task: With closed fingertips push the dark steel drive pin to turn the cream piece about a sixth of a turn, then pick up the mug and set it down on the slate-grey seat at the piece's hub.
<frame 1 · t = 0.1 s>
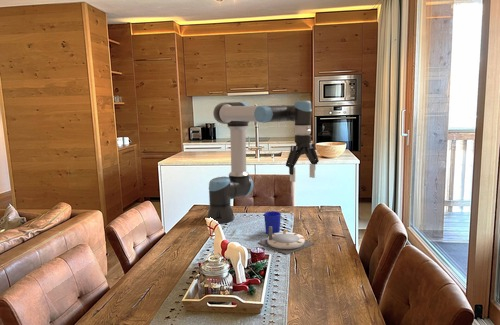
hand: (302, 179, 178), 28 cm above the table, fingers open, 13 cm apart
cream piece: (285, 233, 172), point 5 cm above the table, hinge at 0.0°
bearing plate: (285, 243, 173), on the table
mug: (272, 232, 189), on the table
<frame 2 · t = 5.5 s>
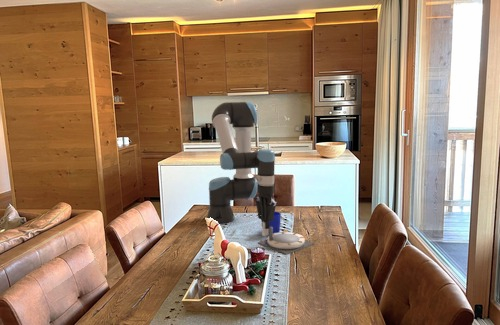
hand: (265, 235, 172), 4 cm above the table, fingers closed
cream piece: (285, 233, 172), point 5 cm above the table, hinge at 5.2°, touching gripper
everything else where it was.
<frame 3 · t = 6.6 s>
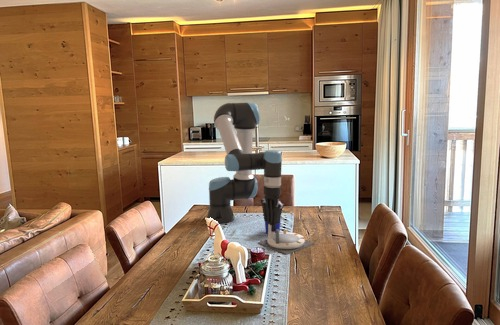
hand: (271, 238, 168), 4 cm above the table, fingers closed
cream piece: (285, 233, 172), point 5 cm above the table, hinge at 43.5°, touching gripper
everything else where it was.
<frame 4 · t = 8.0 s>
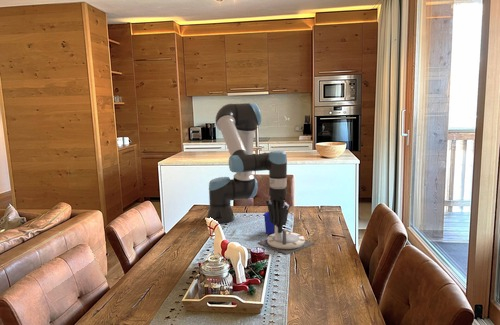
hand: (278, 239, 166), 4 cm above the table, fingers closed
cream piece: (285, 233, 172), point 5 cm above the table, hinge at 69.0°, touching gripper
everything else where it was.
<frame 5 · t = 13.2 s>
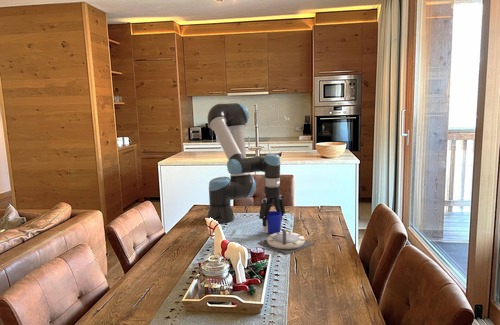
hand: (272, 230, 189), 1 cm above the table, fingers closed on mug, 8 cm apart
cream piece: (285, 233, 172), point 5 cm above the table, hinge at 69.2°
mug: (273, 232, 189), on the table, touching gripper
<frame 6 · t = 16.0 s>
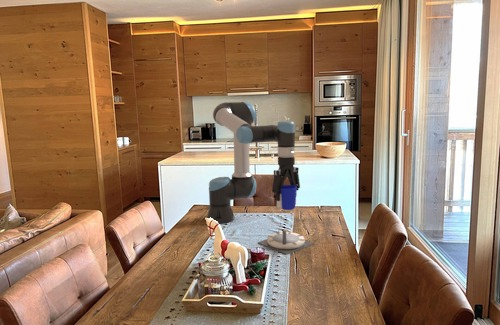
hand: (286, 205, 171), 18 cm above the table, fingers closed on mug, 8 cm apart
mug: (287, 207, 172), point 16 cm above the table, touching gripper
everything else where it was.
when the fingers open (5 cm above the table, at t = 18.8 s): mug drops 1 cm, resting on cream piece.
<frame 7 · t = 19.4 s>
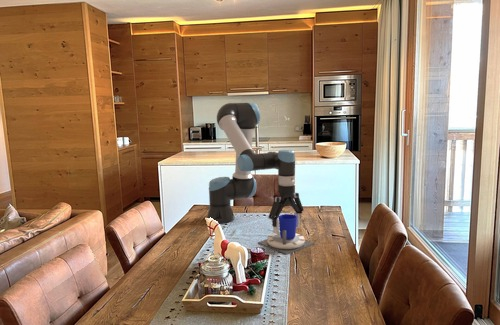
hand: (286, 229, 173), 6 cm above the table, fingers open, 13 cm apart
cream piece: (285, 233, 172), point 5 cm above the table, hinge at 69.2°, touching mug
mug: (287, 236, 174), point 3 cm above the table, touching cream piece
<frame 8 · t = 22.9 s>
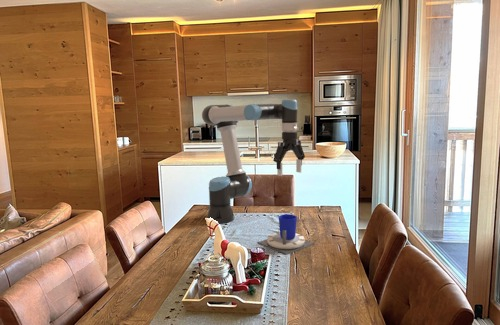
hand: (289, 174, 188), 29 cm above the table, fingers open, 13 cm apart
nothing on the table moved.
at the end: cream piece at +69° (first picture: +0°); mug 2.3 cm from the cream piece (horizontally); mug tilted 0° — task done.
